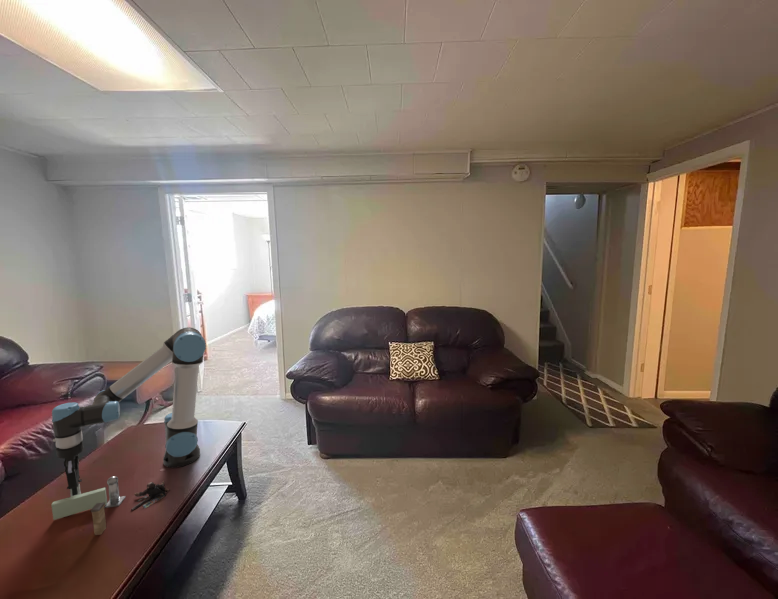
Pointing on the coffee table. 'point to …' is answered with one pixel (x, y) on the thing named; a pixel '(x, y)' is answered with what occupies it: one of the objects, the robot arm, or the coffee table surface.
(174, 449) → the robot arm
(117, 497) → the hinge post
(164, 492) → the stuffed animal
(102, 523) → the block
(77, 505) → the gate
